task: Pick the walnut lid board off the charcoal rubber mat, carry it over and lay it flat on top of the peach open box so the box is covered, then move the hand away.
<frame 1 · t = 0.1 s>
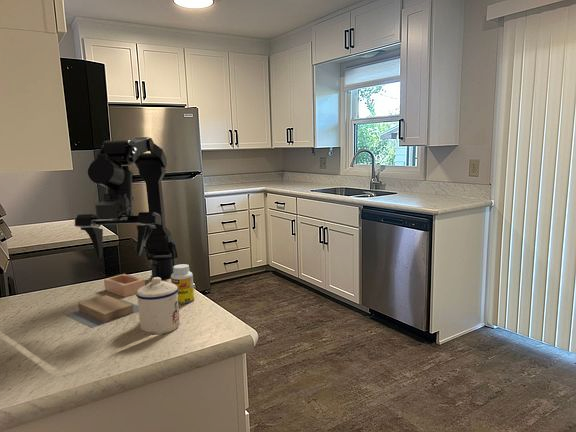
hand: (119, 256, 100), 15 cm above the worktop, tool pointing down, fingers open, 9 cm apart
walnut lid: (106, 311, 105), point 1 cm above the worktop, touching rubber mat
peach open box: (125, 292, 122), on the worktop
teacup with lid: (160, 325, 97), on the worktop
supplement bottle: (183, 304, 111), on the worktop
rubber mat: (106, 314, 105), on the worktop
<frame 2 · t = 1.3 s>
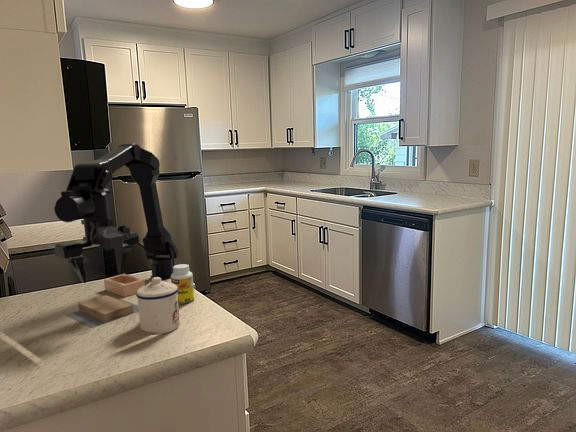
hand: (102, 278, 104), 9 cm above the worktop, tool pointing down, fingers open, 9 cm apart
nothing on the worktop moved.
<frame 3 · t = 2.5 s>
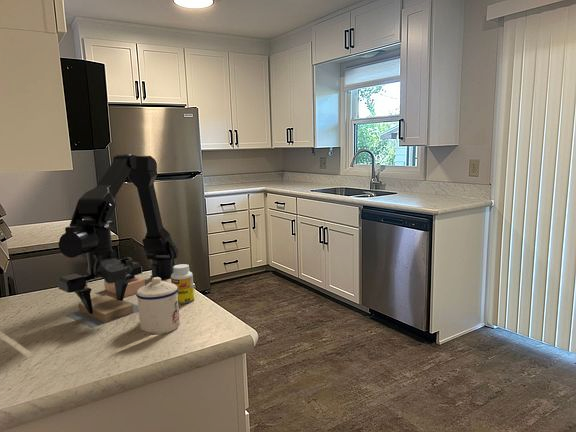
hand: (105, 308, 105), 2 cm above the worktop, tool pointing down, fingers closed on walnut lid, 7 cm apart
walnut lid: (106, 311, 105), point 1 cm above the worktop, touching gripper, rubber mat
everything else where it was.
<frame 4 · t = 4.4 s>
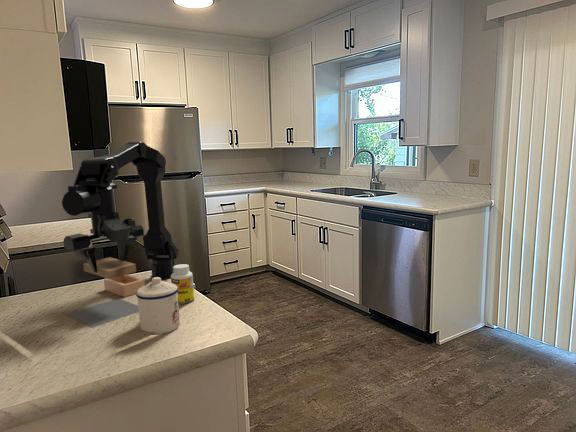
hand: (109, 268, 109), 10 cm above the worktop, tool pointing down, fingers closed on walnut lid, 7 cm apart
walnut lid: (109, 271, 109), point 10 cm above the worktop, touching gripper
everything else where it was.
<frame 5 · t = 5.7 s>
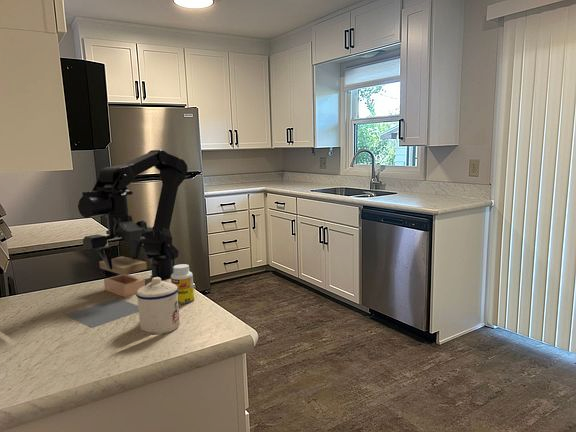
hand: (123, 266, 121), 8 cm above the worktop, tool pointing down, fingers closed on walnut lid, 7 cm apart
walnut lid: (123, 268, 121), point 7 cm above the worktop, touching gripper
everything else where it was.
when the fingers open (6 cm above the worktop, at t = 6.6 s): walnut lid drops 1 cm, resting on peach open box.
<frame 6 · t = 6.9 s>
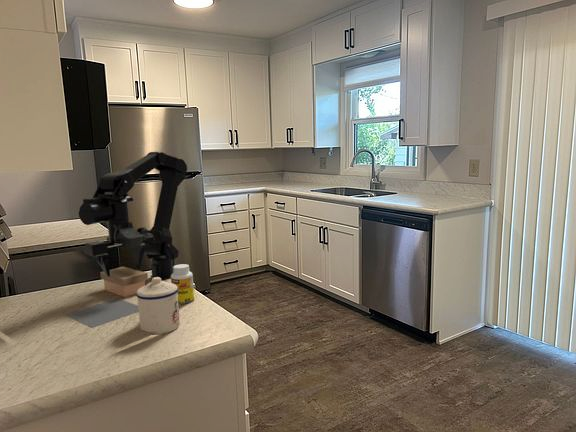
hand: (123, 272, 121), 6 cm above the worktop, tool pointing down, fingers open, 9 cm apart
walnut lid: (124, 279, 121), point 4 cm above the worktop, touching peach open box
everything else where it was.
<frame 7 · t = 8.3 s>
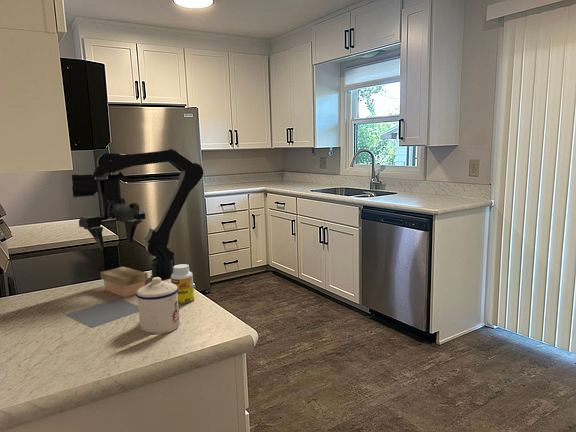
hand: (116, 246, 129), 12 cm above the worktop, tool pointing down, fingers open, 9 cm apart
nothing on the worktop moved.
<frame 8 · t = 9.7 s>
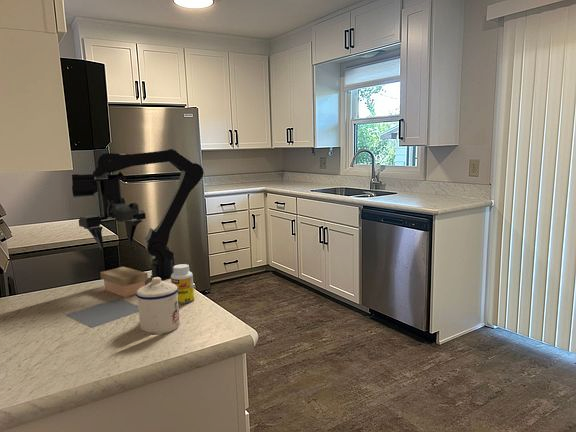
hand: (116, 245, 129), 12 cm above the worktop, tool pointing down, fingers open, 9 cm apart
nothing on the worktop moved.
at the end: walnut lid 0.0 cm off-centre on the peach open box, point 4.0 cm above the peach open box's base; walnut lid tilted 0°; the gripper is holding nothing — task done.
